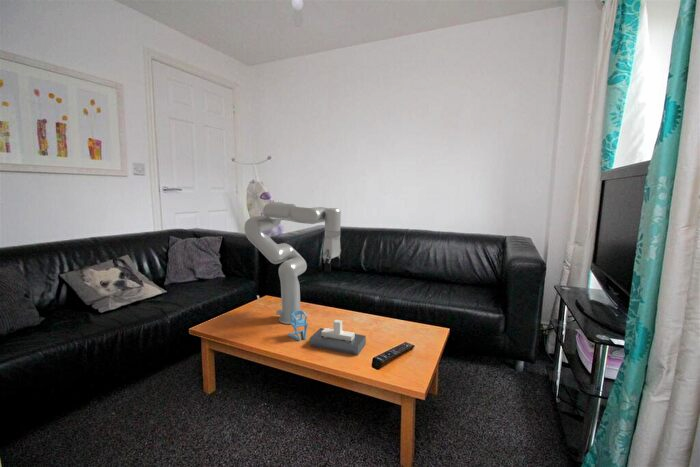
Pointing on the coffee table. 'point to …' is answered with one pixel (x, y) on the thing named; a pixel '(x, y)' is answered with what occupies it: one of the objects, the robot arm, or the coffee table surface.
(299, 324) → the chair
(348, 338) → the white stepped block
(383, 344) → the coffee table surface
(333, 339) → the slotted plate
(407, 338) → the coffee table surface
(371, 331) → the coffee table surface
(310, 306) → the coffee table surface
